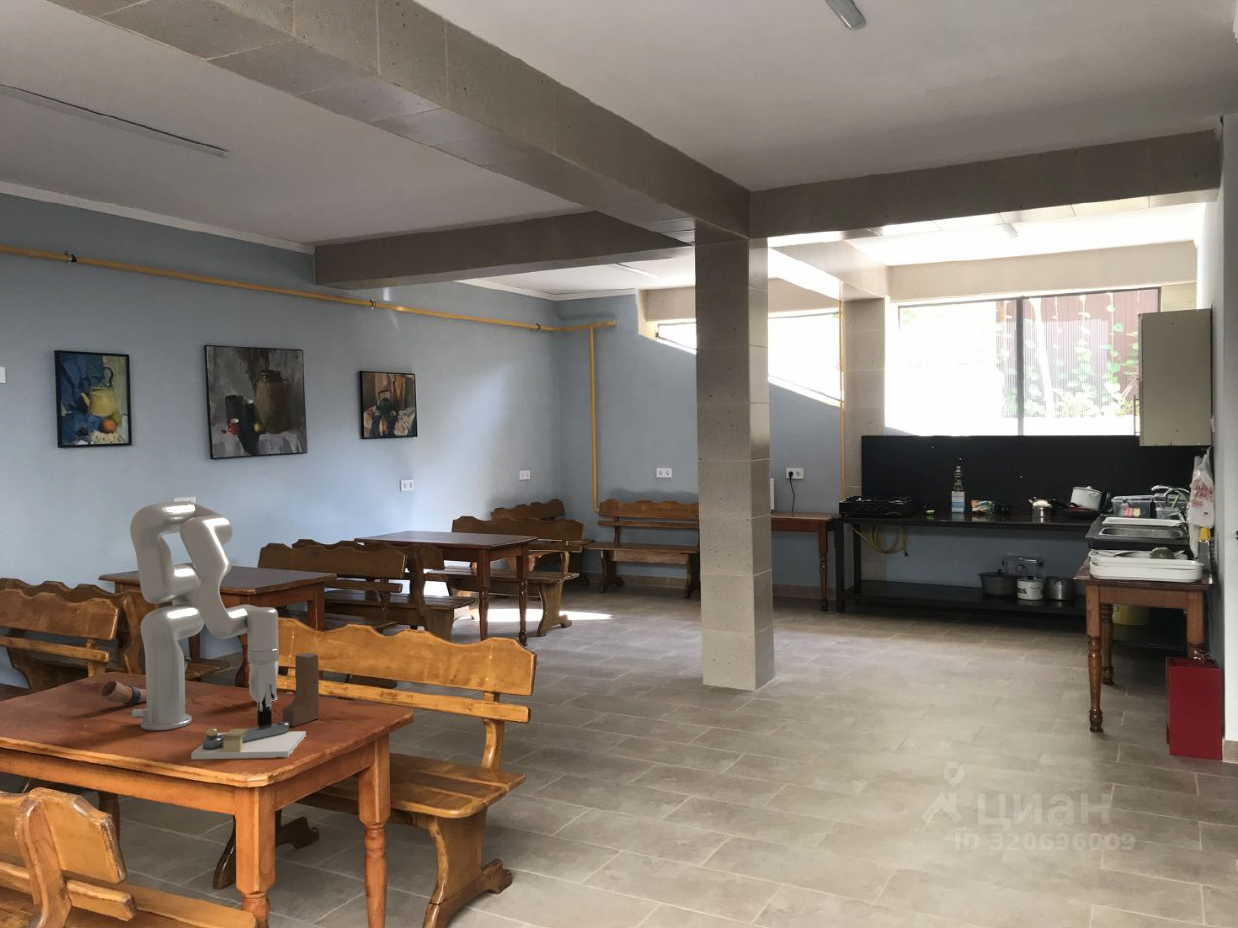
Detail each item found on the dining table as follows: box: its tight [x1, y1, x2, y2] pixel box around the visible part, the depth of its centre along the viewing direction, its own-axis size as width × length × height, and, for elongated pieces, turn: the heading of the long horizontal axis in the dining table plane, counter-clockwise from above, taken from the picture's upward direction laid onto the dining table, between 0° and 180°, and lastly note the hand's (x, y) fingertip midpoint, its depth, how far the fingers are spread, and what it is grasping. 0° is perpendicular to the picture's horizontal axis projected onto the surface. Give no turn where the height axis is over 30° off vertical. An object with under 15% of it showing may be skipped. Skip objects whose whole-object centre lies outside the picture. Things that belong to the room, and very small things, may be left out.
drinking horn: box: [99, 656, 192, 705], centre depth 293 cm, size 6×30×10 cm, turn 154°
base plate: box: [191, 730, 307, 760], centre depth 248 cm, size 23×16×2 cm
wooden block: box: [281, 652, 320, 727], centre depth 270 cm, size 9×4×18 cm, turn 146°
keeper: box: [206, 727, 249, 752], centre depth 243 cm, size 9×6×5 cm, turn 93°
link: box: [201, 721, 290, 749], centre depth 249 cm, size 22×4×2 cm, turn 133°
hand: (264, 725), depth 259 cm, fingers closed
